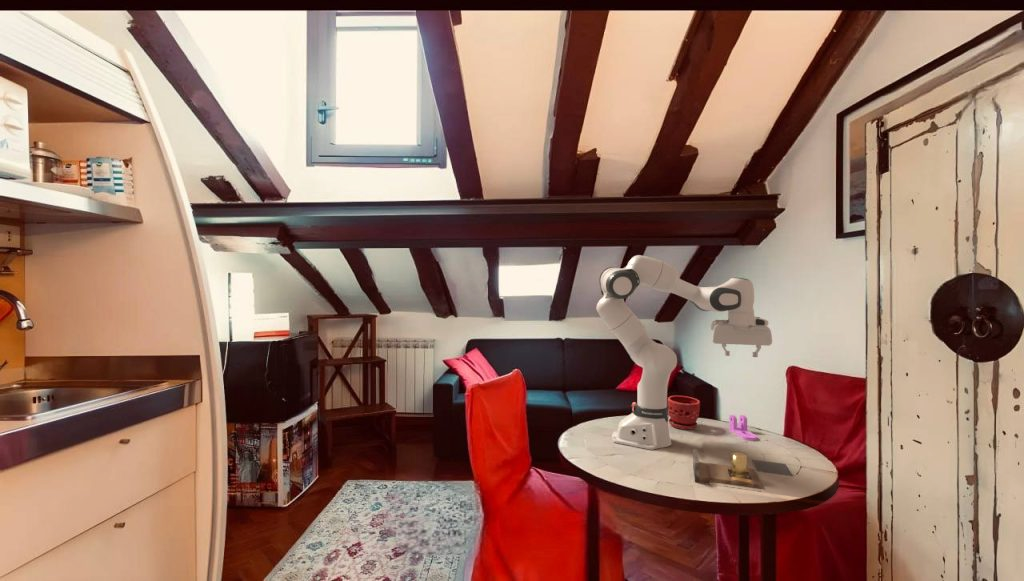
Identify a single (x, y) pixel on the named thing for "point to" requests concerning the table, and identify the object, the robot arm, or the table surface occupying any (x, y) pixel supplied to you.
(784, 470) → the pad
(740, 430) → the bracket
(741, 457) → the brass peg
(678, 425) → the plant pot
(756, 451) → the table surface
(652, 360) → the robot arm
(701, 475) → the socket block
